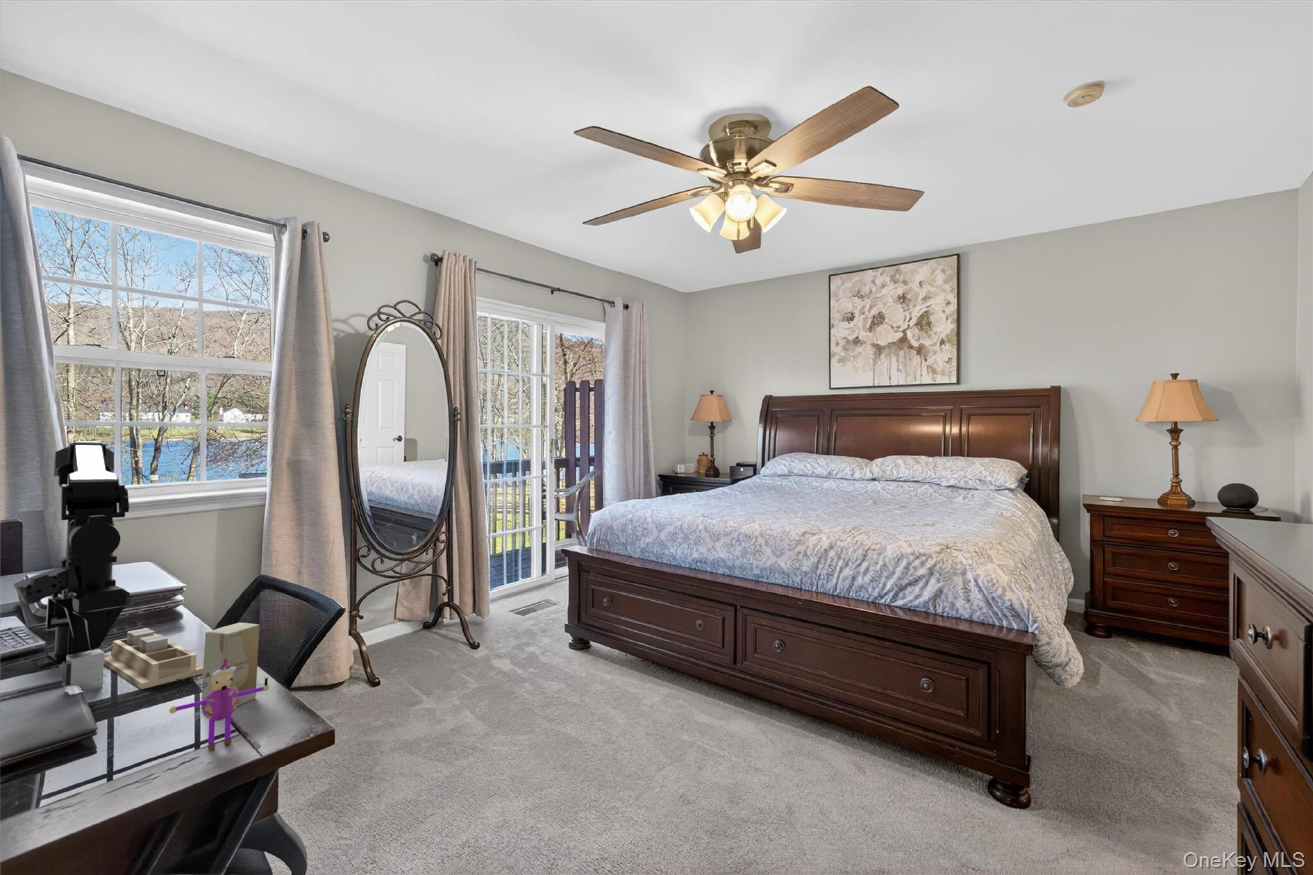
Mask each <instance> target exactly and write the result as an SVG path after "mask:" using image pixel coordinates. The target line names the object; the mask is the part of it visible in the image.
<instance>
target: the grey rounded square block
mask: <svg viewBox="0 0 1313 875" xmlns="http://www.w3.org/2000/svg"><path fill="white" fill-rule="evenodd" d="M100 649H101V648H100ZM100 649H96V650H91V651H86V652H81V653H76V654H71V655H67V657H66V659H65V660H62V667H61V669H62V670H61V681H62V680H63V681H64V683H65V685H77V686H79V687H80V688H81V690H82V691H83V693H86V692H91V691H95V690H99V689H103V687H104V686H103V685H104V683H103V682H104V666H105V665H104V657H105V652H104V651H103V650H102V651H101V650H100Z"/></svg>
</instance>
